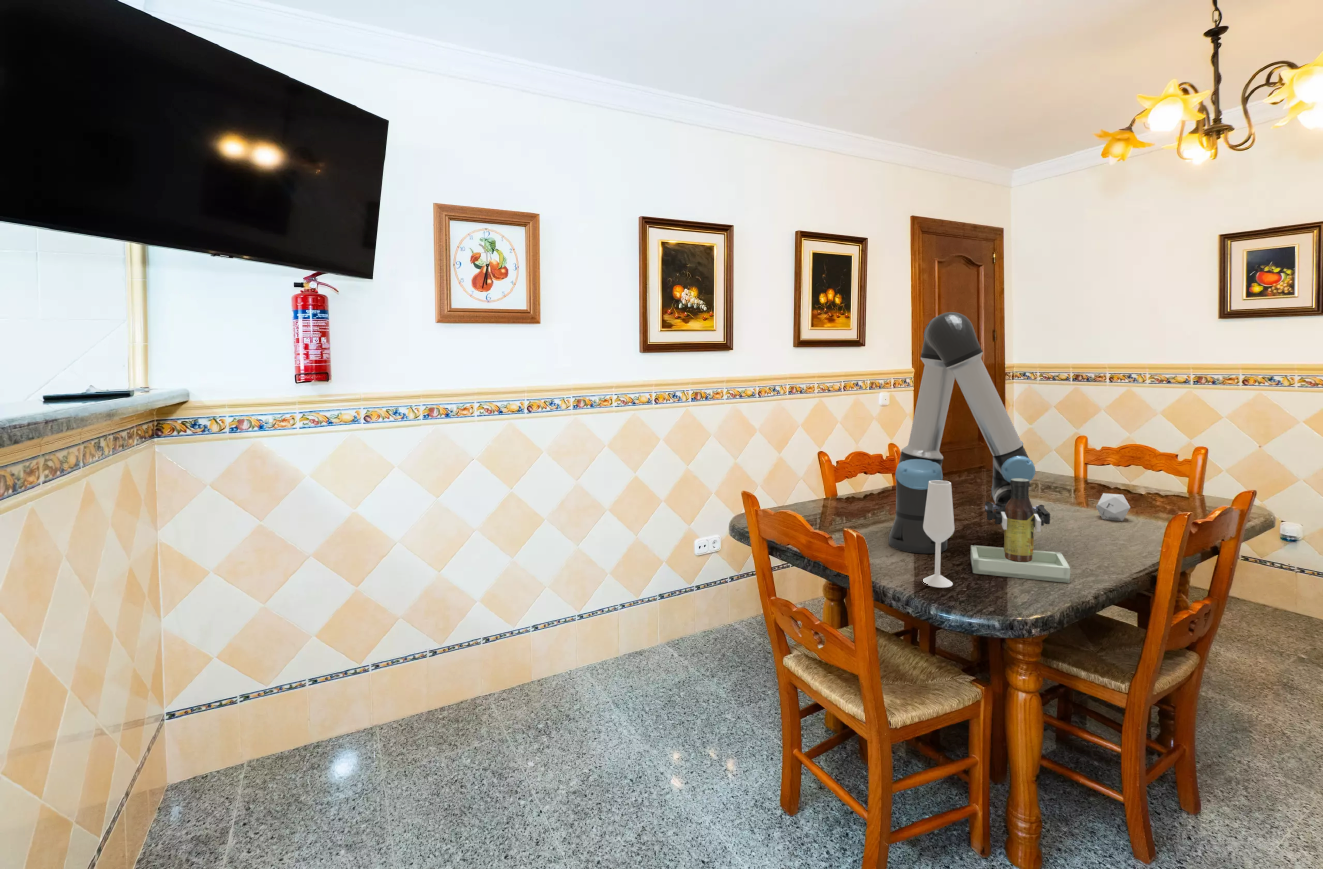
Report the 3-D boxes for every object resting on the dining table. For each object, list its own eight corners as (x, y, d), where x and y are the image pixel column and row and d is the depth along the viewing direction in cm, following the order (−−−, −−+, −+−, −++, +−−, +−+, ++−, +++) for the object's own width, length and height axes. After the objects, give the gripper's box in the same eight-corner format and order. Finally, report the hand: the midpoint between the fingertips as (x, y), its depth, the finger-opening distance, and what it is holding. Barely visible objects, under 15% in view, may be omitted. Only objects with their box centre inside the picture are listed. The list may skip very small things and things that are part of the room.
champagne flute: (915, 579, 149) (917, 481, 145) (937, 575, 151) (940, 478, 148) (936, 589, 142) (939, 486, 139) (959, 584, 145) (962, 483, 142)
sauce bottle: (1037, 564, 149) (1040, 482, 146) (1008, 563, 150) (1011, 482, 147) (1026, 555, 155) (1030, 477, 153) (999, 554, 156) (1002, 476, 154)
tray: (972, 573, 152) (973, 559, 151) (970, 558, 162) (970, 545, 162) (1069, 583, 144) (1070, 568, 143) (1060, 566, 154) (1060, 552, 154)
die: (1088, 517, 198) (1091, 497, 192) (1107, 502, 200) (1110, 482, 194) (1115, 531, 192) (1119, 512, 186) (1133, 516, 194) (1138, 496, 188)
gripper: (1052, 518, 164) (1069, 544, 143) (971, 513, 172) (976, 537, 151) (1053, 490, 163) (1070, 512, 142) (971, 487, 171) (976, 507, 150)
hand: (1022, 525), depth 147 cm, fingers closed on sauce bottle, 6 cm apart
